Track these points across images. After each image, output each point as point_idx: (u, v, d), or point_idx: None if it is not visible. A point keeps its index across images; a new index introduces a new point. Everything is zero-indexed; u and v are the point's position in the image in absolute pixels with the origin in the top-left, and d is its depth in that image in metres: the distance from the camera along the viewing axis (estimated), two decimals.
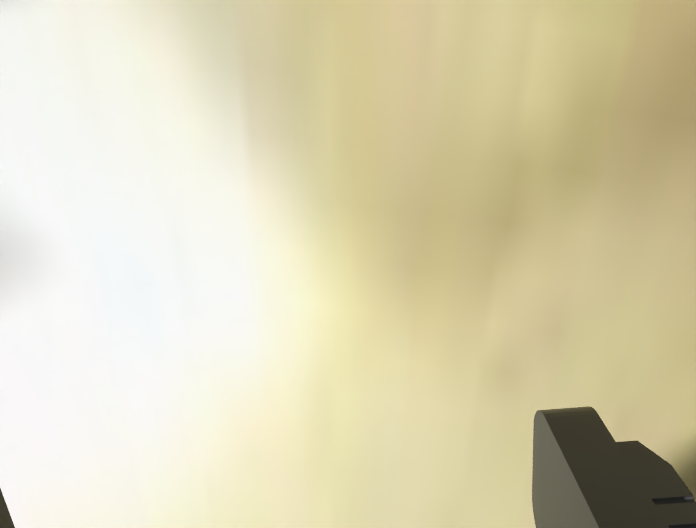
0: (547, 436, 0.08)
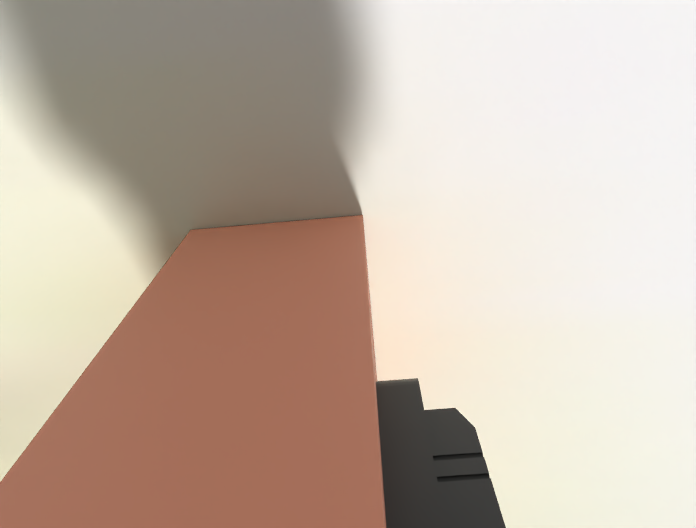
0: None
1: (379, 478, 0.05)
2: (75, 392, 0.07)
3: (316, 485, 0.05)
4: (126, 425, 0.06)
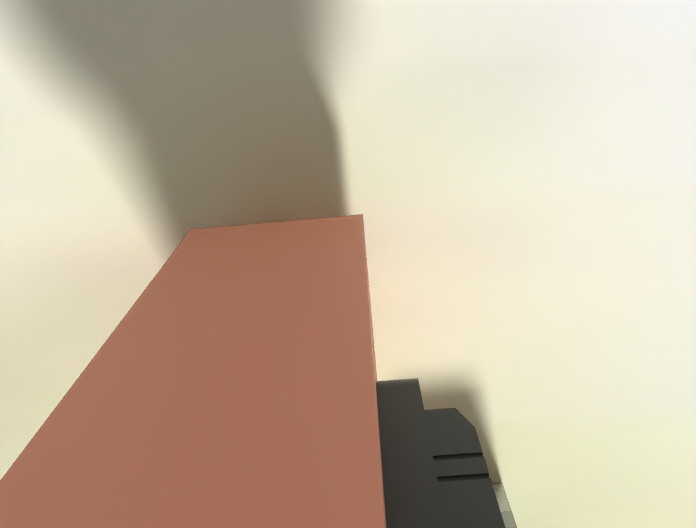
0: None
1: (379, 476, 0.05)
2: (75, 390, 0.07)
3: (316, 482, 0.05)
4: (126, 424, 0.06)
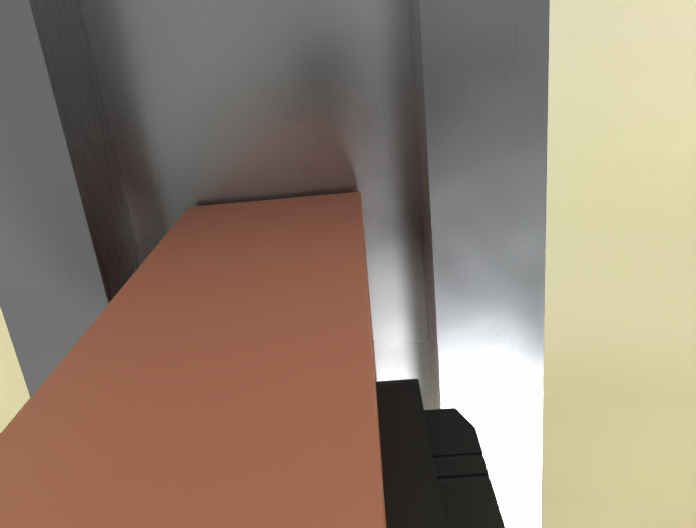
0: None
1: (375, 427, 0.05)
2: (74, 354, 0.07)
3: (313, 434, 0.05)
4: (123, 384, 0.06)
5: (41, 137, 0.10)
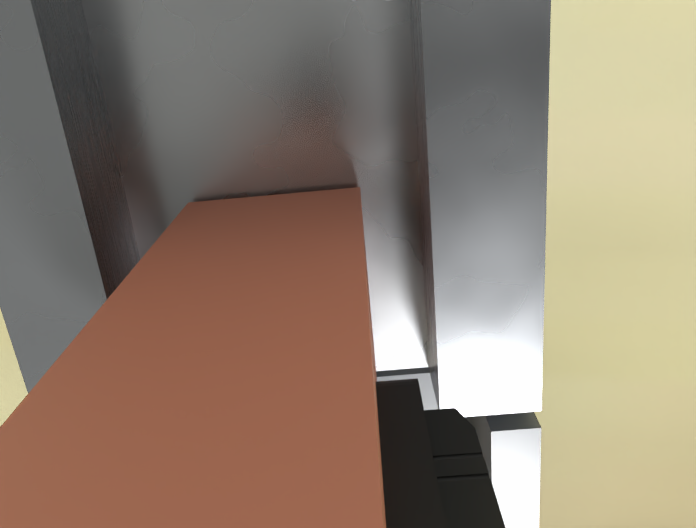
0: None
1: (374, 420, 0.05)
2: (73, 348, 0.07)
3: (312, 428, 0.05)
4: (123, 377, 0.06)
5: None
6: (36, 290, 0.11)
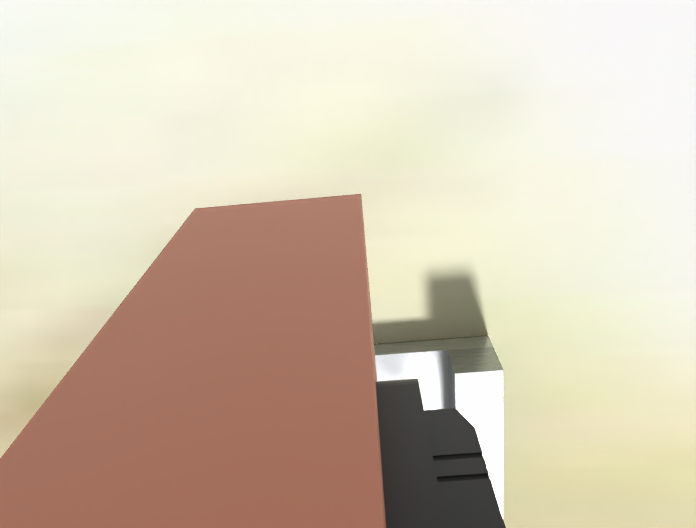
0: None
1: (375, 418, 0.06)
2: (91, 350, 0.08)
3: (317, 424, 0.06)
4: (139, 377, 0.07)
5: None
6: None
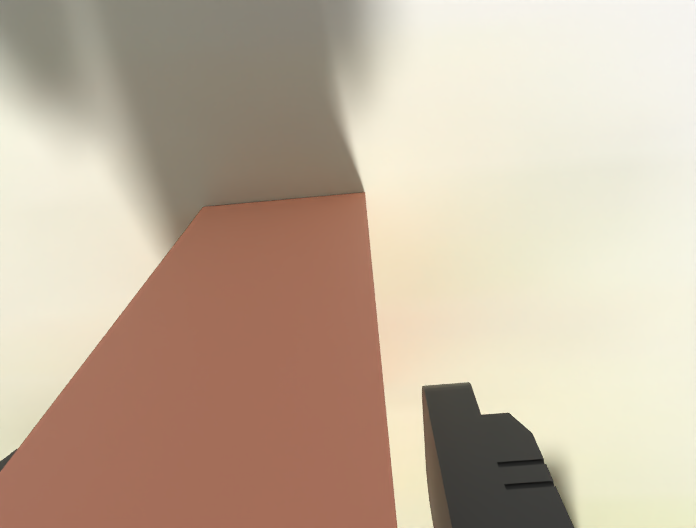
0: (426, 408, 0.09)
1: (383, 395, 0.06)
2: (109, 337, 0.08)
3: (328, 401, 0.06)
4: (158, 361, 0.07)
5: None
6: None
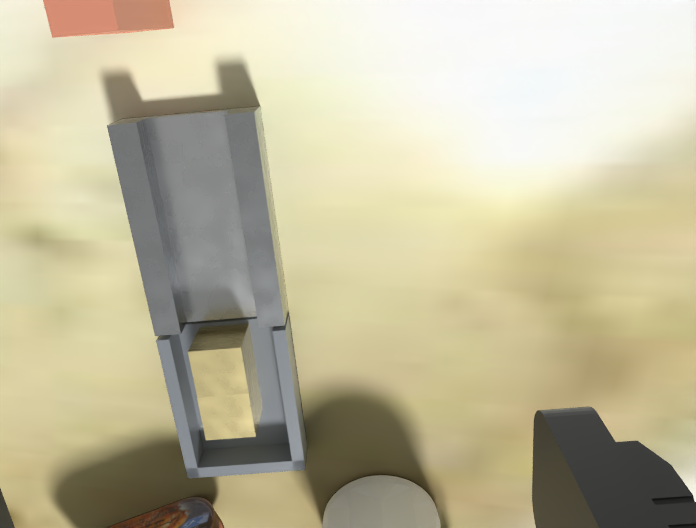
0: (547, 436, 0.08)
1: None
2: None
3: None
4: None
5: (147, 204, 0.44)
6: (155, 294, 0.47)
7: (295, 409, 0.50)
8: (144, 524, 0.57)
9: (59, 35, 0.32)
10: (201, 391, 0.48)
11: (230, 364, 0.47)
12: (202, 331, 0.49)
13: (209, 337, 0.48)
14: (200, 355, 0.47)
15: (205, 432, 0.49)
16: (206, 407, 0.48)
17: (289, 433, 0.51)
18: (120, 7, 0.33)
